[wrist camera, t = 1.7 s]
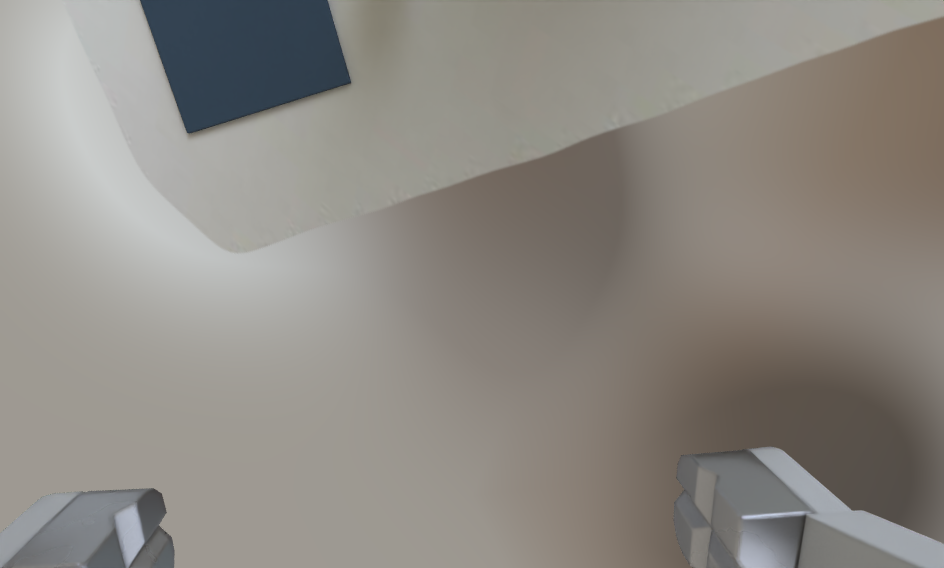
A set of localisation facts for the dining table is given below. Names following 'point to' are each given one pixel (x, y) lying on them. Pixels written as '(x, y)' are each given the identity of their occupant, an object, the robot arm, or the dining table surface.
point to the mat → (244, 54)
